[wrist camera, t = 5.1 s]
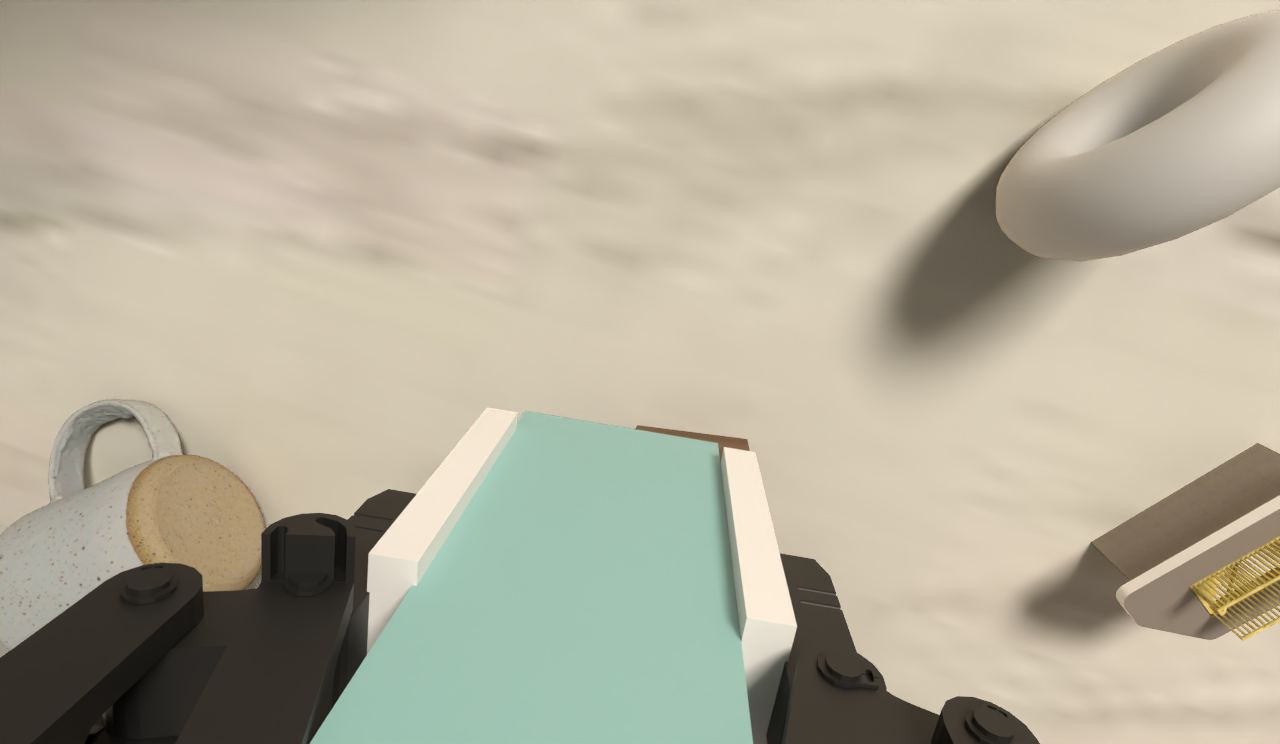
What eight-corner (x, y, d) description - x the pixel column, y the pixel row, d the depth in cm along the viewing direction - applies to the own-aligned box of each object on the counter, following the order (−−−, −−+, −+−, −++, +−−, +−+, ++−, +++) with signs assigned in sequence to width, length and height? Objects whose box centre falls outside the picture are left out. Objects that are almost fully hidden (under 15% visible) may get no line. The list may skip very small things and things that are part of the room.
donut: (981, 258, 29) (1130, 312, 19) (936, 190, 28) (1066, 211, 18) (1218, 93, 26) (1520, 60, 17) (1174, 15, 26) (1464, -66, 16)
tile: (525, 410, 18) (296, 763, 7) (718, 442, 18) (765, 846, 7) (517, 480, 18) (294, 900, 8) (703, 512, 18) (728, 978, 8)
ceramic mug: (305, 543, 35) (202, 645, 27) (180, 603, 36) (51, 715, 29) (174, 360, 32) (24, 417, 25) (47, 432, 34) (-131, 507, 27)
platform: (1435, 485, 31) (1626, 570, 25) (1066, 687, 35) (1149, 803, 29) (1310, 278, 29) (1486, 313, 22) (932, 521, 33) (990, 608, 27)
